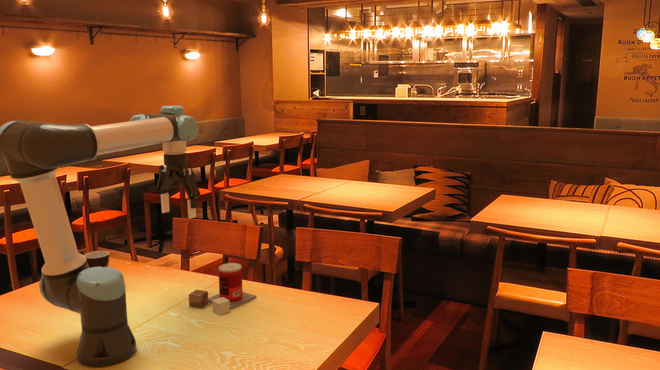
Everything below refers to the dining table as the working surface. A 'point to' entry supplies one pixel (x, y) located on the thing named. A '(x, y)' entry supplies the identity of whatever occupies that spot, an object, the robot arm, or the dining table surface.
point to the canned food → (230, 281)
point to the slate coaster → (233, 304)
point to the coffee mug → (97, 259)
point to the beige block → (221, 306)
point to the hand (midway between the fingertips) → (178, 214)
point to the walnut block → (198, 299)
